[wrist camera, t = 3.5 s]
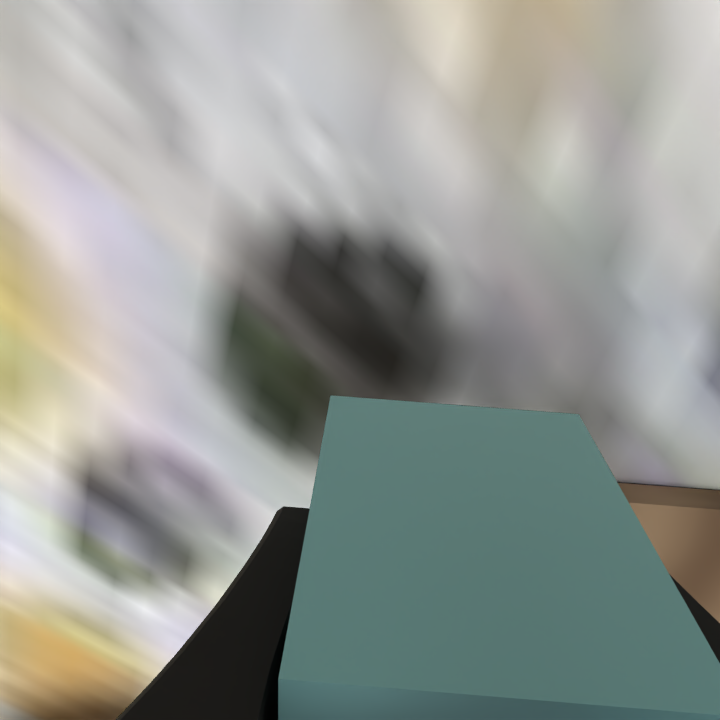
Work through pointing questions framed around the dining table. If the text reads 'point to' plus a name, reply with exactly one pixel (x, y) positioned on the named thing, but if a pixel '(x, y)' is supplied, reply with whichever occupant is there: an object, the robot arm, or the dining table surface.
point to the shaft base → (683, 535)
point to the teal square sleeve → (481, 578)
